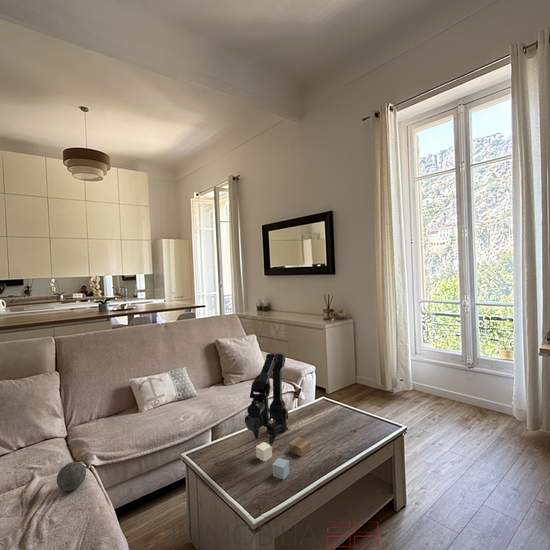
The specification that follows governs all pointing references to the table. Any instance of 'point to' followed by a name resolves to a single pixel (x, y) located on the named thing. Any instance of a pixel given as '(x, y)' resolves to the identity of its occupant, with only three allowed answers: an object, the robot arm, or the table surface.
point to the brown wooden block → (299, 446)
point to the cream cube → (263, 451)
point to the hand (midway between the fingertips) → (263, 442)
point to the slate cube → (280, 468)
